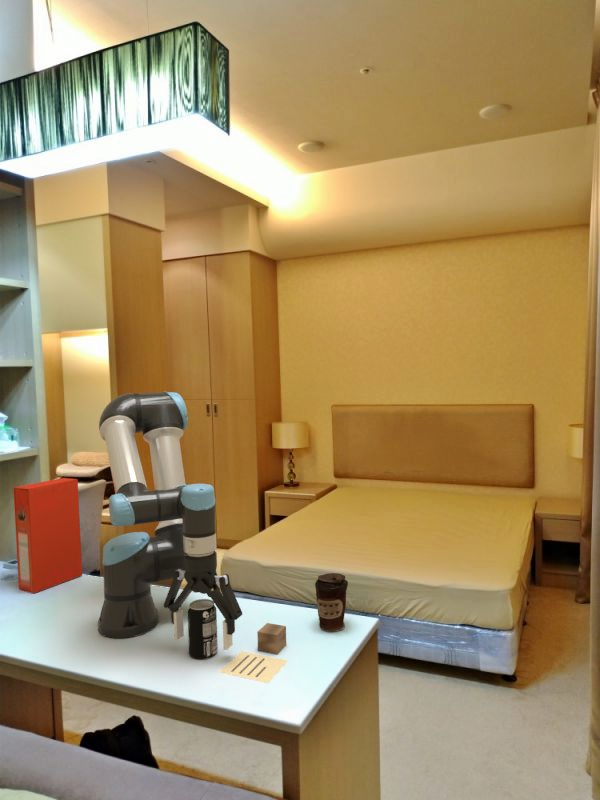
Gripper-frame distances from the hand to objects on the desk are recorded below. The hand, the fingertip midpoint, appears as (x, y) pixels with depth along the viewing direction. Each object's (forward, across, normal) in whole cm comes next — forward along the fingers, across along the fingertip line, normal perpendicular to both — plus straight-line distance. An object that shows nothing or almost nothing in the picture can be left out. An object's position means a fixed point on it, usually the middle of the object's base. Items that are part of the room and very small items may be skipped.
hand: (203, 642), depth 133 cm
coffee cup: (+3, +23, +24) cm, 33 cm away
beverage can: (+3, 0, 0) cm, 3 cm away
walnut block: (+3, +14, +8) cm, 16 cm away
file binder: (+3, -72, +22) cm, 75 cm away
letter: (+3, +14, -1) cm, 14 cm away
